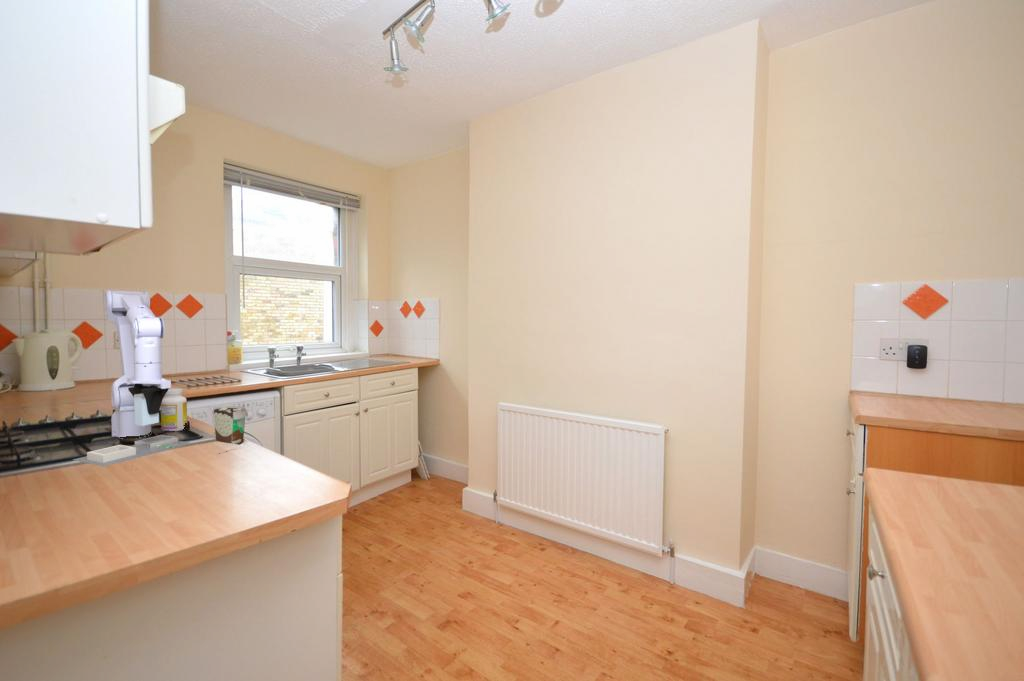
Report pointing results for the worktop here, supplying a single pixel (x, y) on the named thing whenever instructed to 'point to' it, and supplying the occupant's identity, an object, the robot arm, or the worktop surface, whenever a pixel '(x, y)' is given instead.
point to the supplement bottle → (173, 410)
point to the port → (156, 442)
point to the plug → (143, 412)
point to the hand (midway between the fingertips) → (149, 413)
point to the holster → (111, 453)
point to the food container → (229, 423)
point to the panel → (138, 454)
